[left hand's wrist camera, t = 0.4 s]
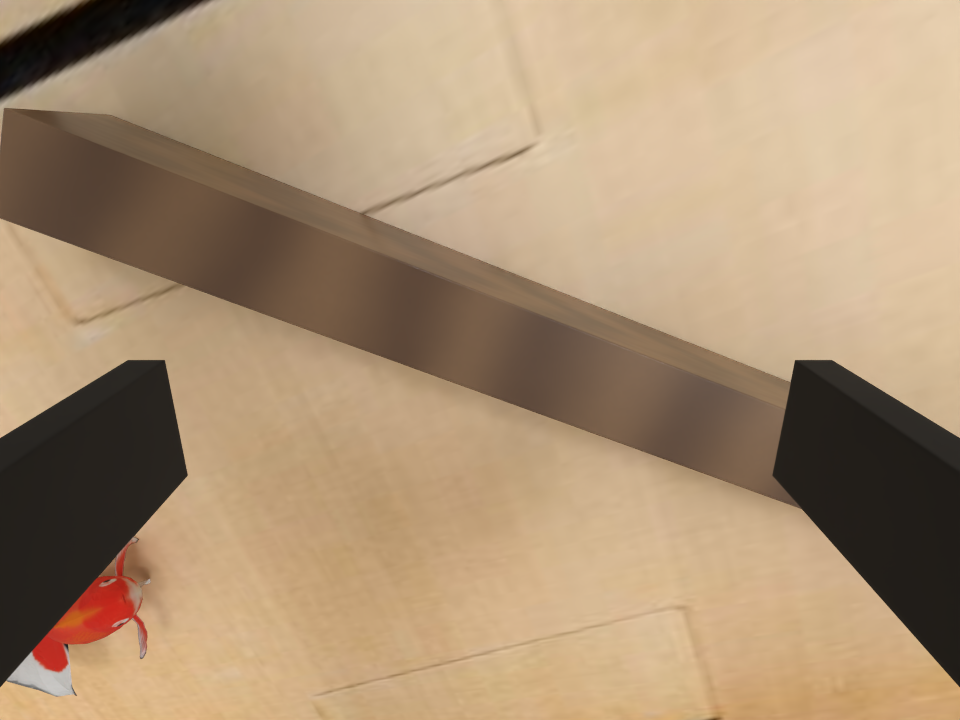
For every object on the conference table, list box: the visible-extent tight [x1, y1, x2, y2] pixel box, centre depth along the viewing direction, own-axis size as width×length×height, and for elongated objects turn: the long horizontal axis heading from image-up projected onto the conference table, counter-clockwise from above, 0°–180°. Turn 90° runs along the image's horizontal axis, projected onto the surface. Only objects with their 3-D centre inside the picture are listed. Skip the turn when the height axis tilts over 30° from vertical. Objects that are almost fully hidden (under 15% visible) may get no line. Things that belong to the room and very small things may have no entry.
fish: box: [6, 537, 150, 697], centre depth 42 cm, size 11×16×10 cm
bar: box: [0, 108, 802, 509], centre depth 35 cm, size 73×5×8 cm, turn 68°
